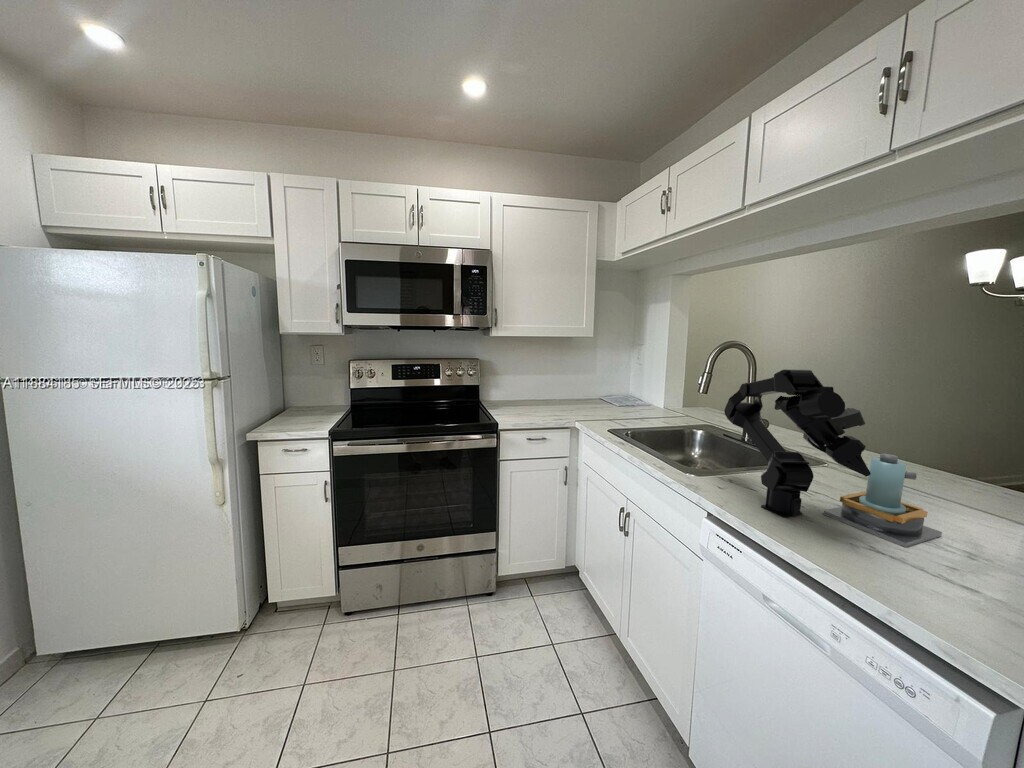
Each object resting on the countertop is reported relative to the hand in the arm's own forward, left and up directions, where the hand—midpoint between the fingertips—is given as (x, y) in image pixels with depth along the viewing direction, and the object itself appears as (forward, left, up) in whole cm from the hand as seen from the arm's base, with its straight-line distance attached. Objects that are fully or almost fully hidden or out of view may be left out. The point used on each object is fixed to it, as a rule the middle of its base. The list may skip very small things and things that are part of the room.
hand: (858, 468), depth 92 cm
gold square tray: (+3, +6, -14) cm, 15 cm away
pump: (+3, +6, -10) cm, 12 cm away
